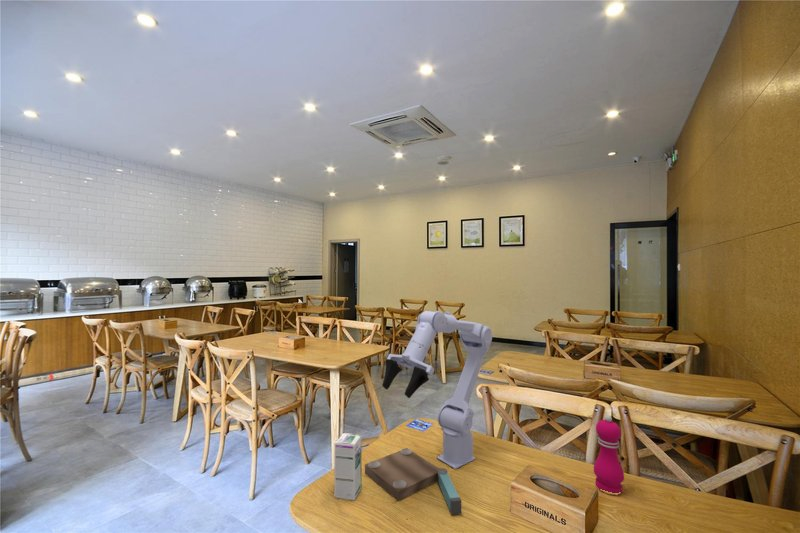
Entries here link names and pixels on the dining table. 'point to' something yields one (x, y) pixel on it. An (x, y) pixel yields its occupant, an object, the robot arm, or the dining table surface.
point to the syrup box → (348, 466)
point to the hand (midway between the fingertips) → (395, 391)
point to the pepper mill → (608, 457)
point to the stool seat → (402, 473)
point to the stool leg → (449, 492)
